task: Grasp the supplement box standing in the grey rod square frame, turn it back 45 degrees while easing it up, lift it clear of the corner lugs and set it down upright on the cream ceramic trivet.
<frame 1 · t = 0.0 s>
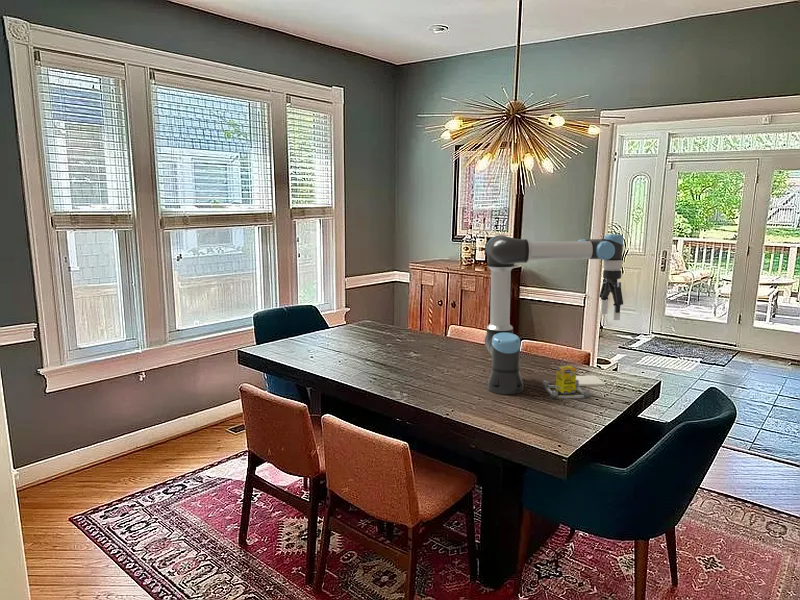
hand: (609, 317, 244), 28 cm above the table, fingers open, 13 cm apart
grey rod square frame: (565, 392, 229), on the table
trivet: (586, 381, 243), on the table
supplement box: (565, 393, 229), resting in grey rod square frame
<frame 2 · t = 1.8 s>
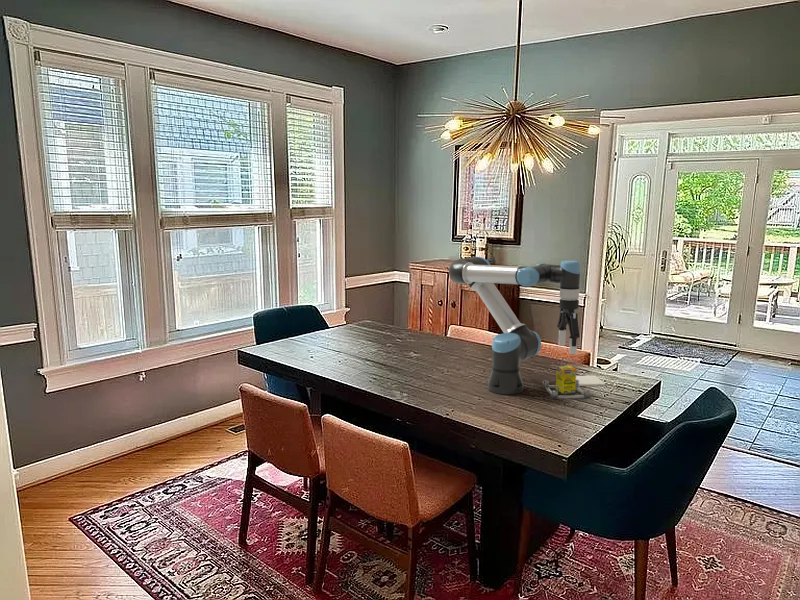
hand: (567, 349, 226), 18 cm above the table, fingers open, 13 cm apart
nothing on the table moved.
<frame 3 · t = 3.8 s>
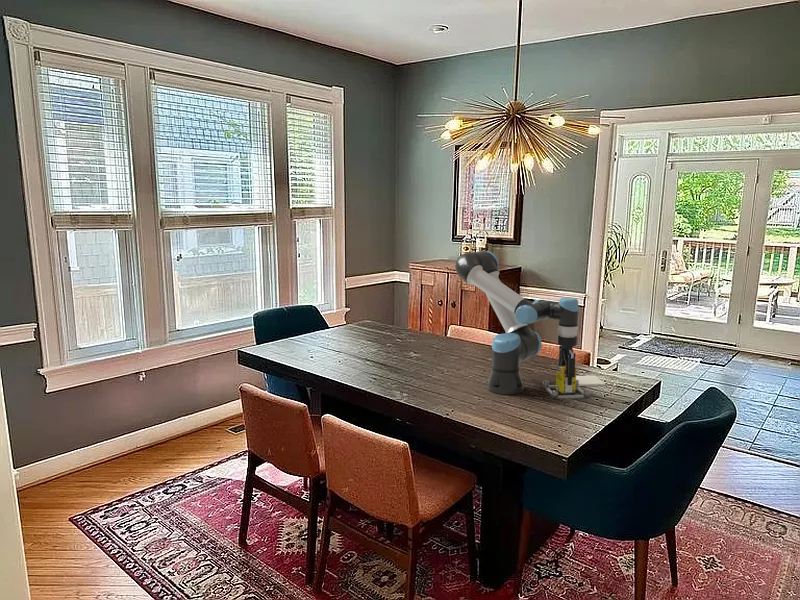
hand: (565, 389, 229), 2 cm above the table, fingers closed on supplement box, 7 cm apart
supplement box: (565, 393, 229), resting in grey rod square frame, touching gripper
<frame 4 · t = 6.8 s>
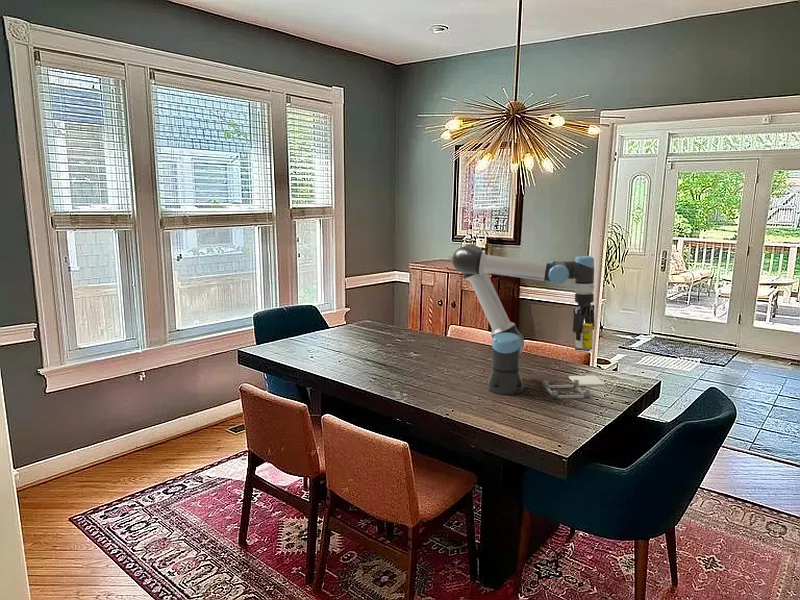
hand: (583, 345, 235), 18 cm above the table, fingers closed on supplement box, 7 cm apart
supplement box: (583, 349, 235), point 16 cm above the table, touching gripper
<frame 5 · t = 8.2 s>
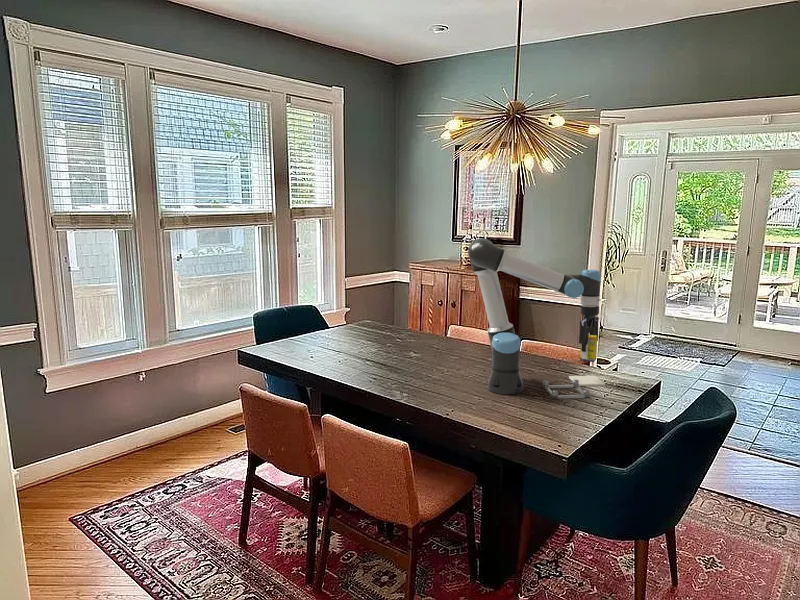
hand: (588, 356, 241), 11 cm above the table, fingers closed on supplement box, 7 cm apart
supplement box: (588, 360, 242), point 10 cm above the table, touching gripper
when the fingers open (4 cm above the table, at t = 9.6 s): supplement box drops 2 cm, resting on trivet.
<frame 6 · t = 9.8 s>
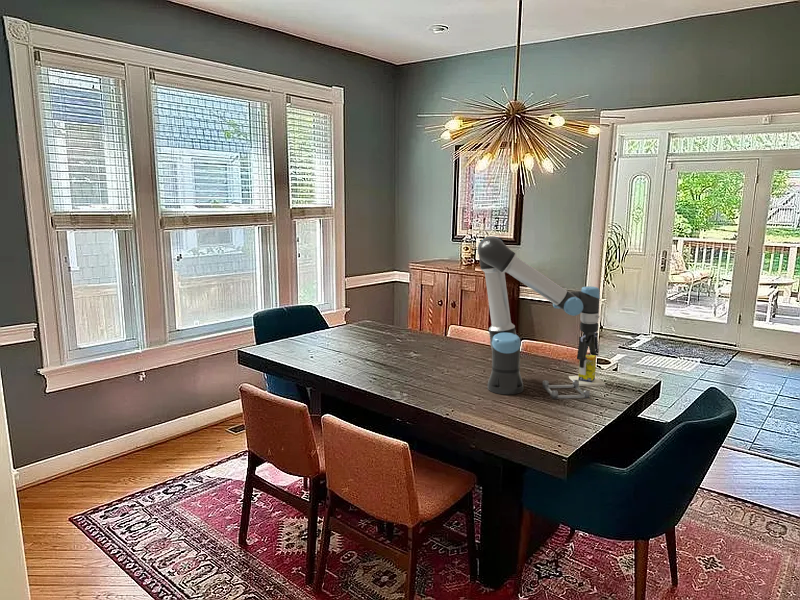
hand: (587, 371, 243), 4 cm above the table, fingers open, 9 cm apart
supplement box: (586, 380, 243), point 1 cm above the table, touching trivet
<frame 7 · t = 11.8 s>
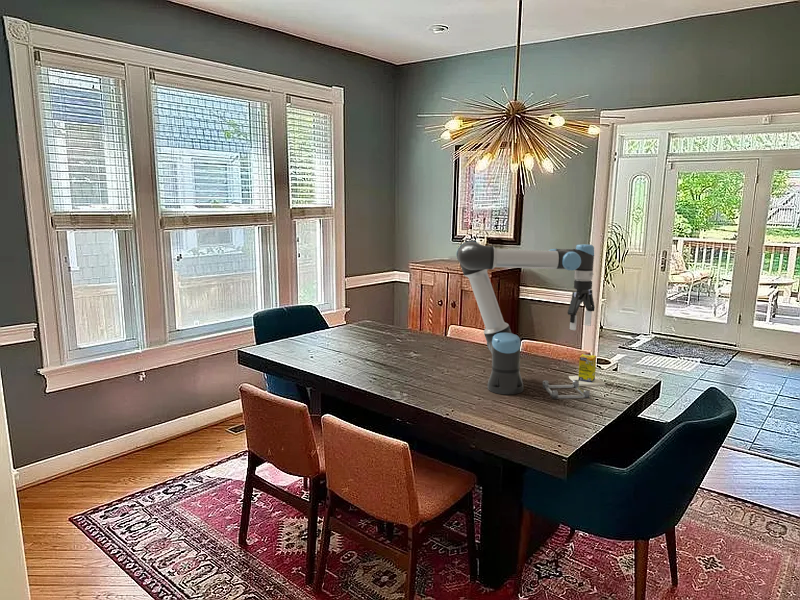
hand: (580, 327, 243), 24 cm above the table, fingers open, 13 cm apart
nothing on the table moved.
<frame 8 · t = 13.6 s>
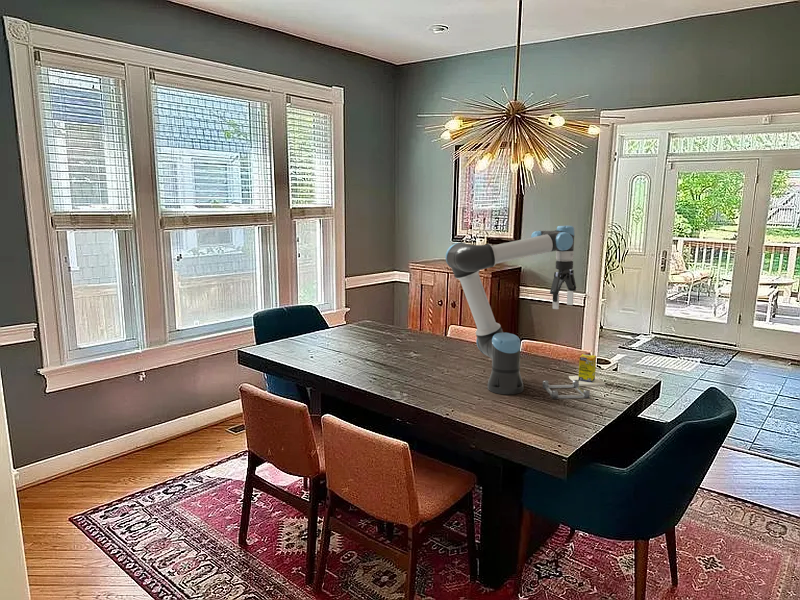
hand: (562, 306, 250), 32 cm above the table, fingers open, 13 cm apart
nothing on the table moved.
at the end: supplement box inside the target area on the trivet (0.1 cm from its centre), point 0.6 cm above the trivet's base; supplement box tilted 0°; the gripper is holding nothing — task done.
